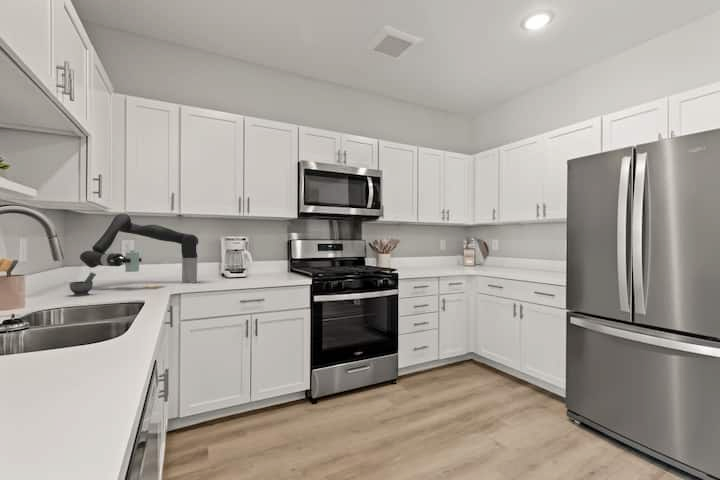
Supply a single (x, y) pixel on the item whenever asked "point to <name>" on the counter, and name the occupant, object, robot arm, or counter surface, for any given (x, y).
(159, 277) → the counter surface
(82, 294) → the mortar and pestle
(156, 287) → the board
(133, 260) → the green canister
